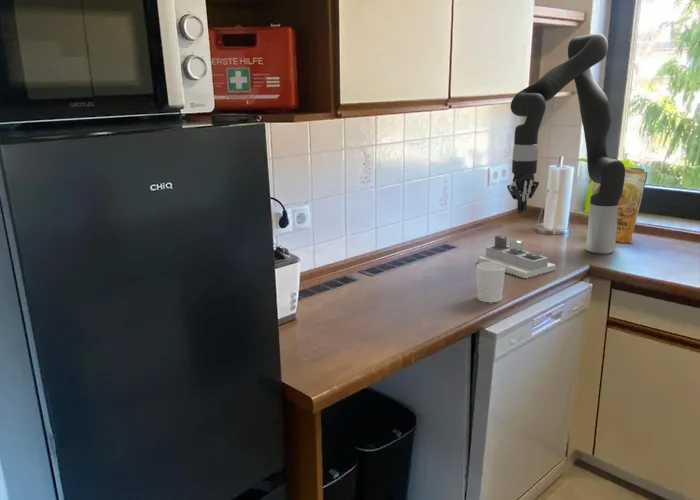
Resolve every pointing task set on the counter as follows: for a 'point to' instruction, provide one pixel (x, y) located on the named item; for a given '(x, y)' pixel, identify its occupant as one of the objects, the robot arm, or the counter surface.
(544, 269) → the panel
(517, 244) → the steel knob
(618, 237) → the pancake mix bag
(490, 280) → the white cup
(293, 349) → the counter surface
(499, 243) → the charcoal knob
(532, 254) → the charcoal knob
